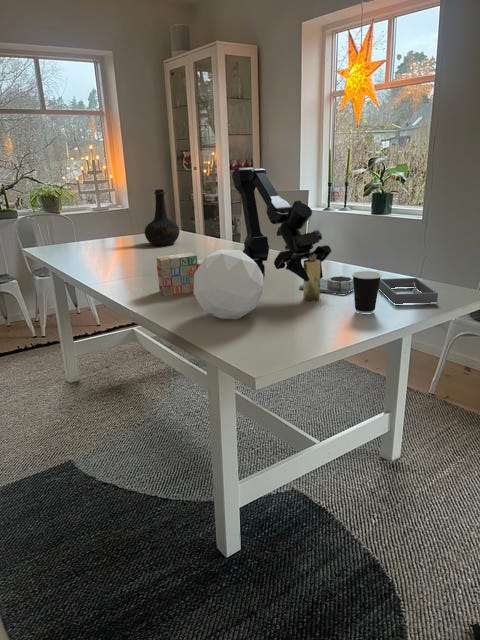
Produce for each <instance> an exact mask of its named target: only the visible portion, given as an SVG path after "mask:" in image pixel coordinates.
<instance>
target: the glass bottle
mask: <svg viewBox="0 0 480 640" xmlns="http://www.w3.org/2000/svg"><path fill="white" fill-rule="evenodd" d="M153 194H154V195H155V210H154V211H155V212H154V217H153V220H152V221H151V222H149V223H148V224H147V225H146V226H145V228H144V236H145V239H146V240H147V241H148V242H149V243H150V244H151V245H153V246H169V245H172V244H174V243H175V242H176V241H177V240H178V238H179V235H180V227H179V226H178V224H177V223H176V222H174V221H172V220H171V219H169V217H168V214H167V213H168V212H167V208H166V207H167V206H166V201H165V194H166V192H165V191H164V189H161V188H160V189H159V188H158V189H154V193H153Z"/></svg>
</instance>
